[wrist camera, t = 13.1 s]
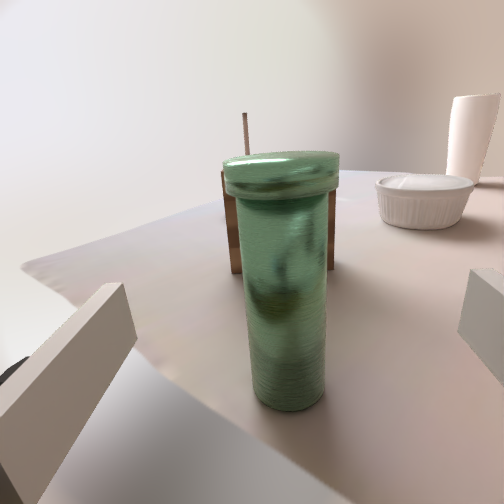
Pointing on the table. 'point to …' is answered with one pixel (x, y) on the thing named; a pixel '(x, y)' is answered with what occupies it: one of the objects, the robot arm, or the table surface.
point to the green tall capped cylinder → (284, 268)
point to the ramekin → (422, 200)
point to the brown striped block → (234, 231)
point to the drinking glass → (470, 134)
